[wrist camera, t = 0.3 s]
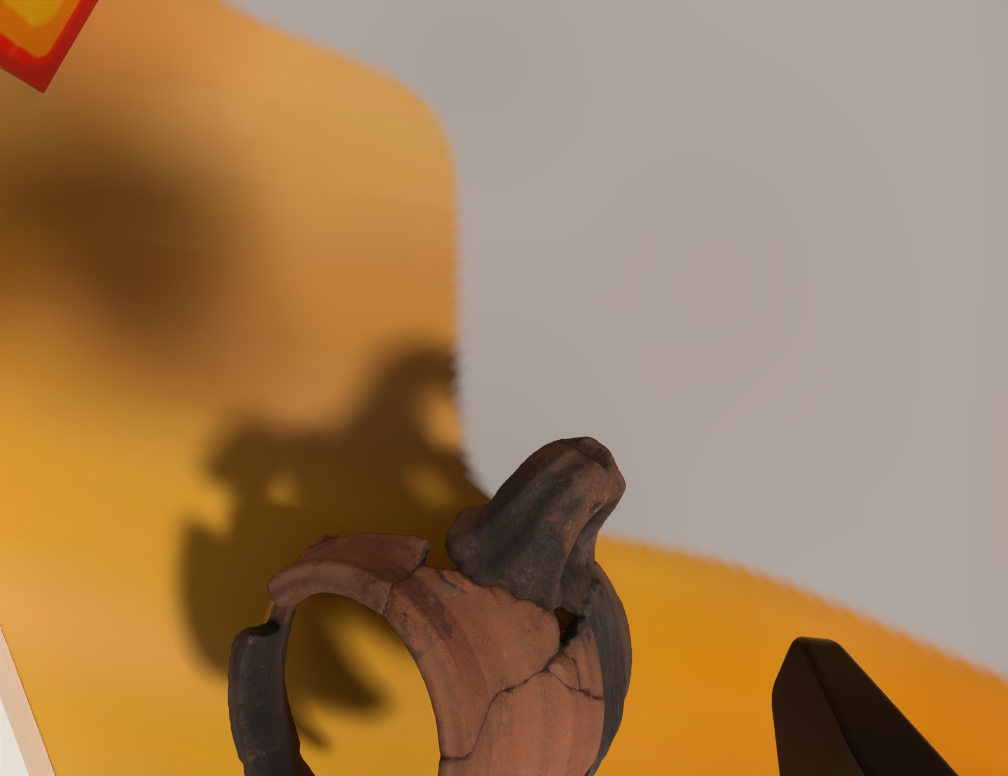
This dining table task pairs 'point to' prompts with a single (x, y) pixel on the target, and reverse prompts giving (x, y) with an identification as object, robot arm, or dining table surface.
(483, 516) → the pottery mug
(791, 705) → the robot arm
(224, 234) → the dining table surface
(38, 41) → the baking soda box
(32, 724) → the square socket base
